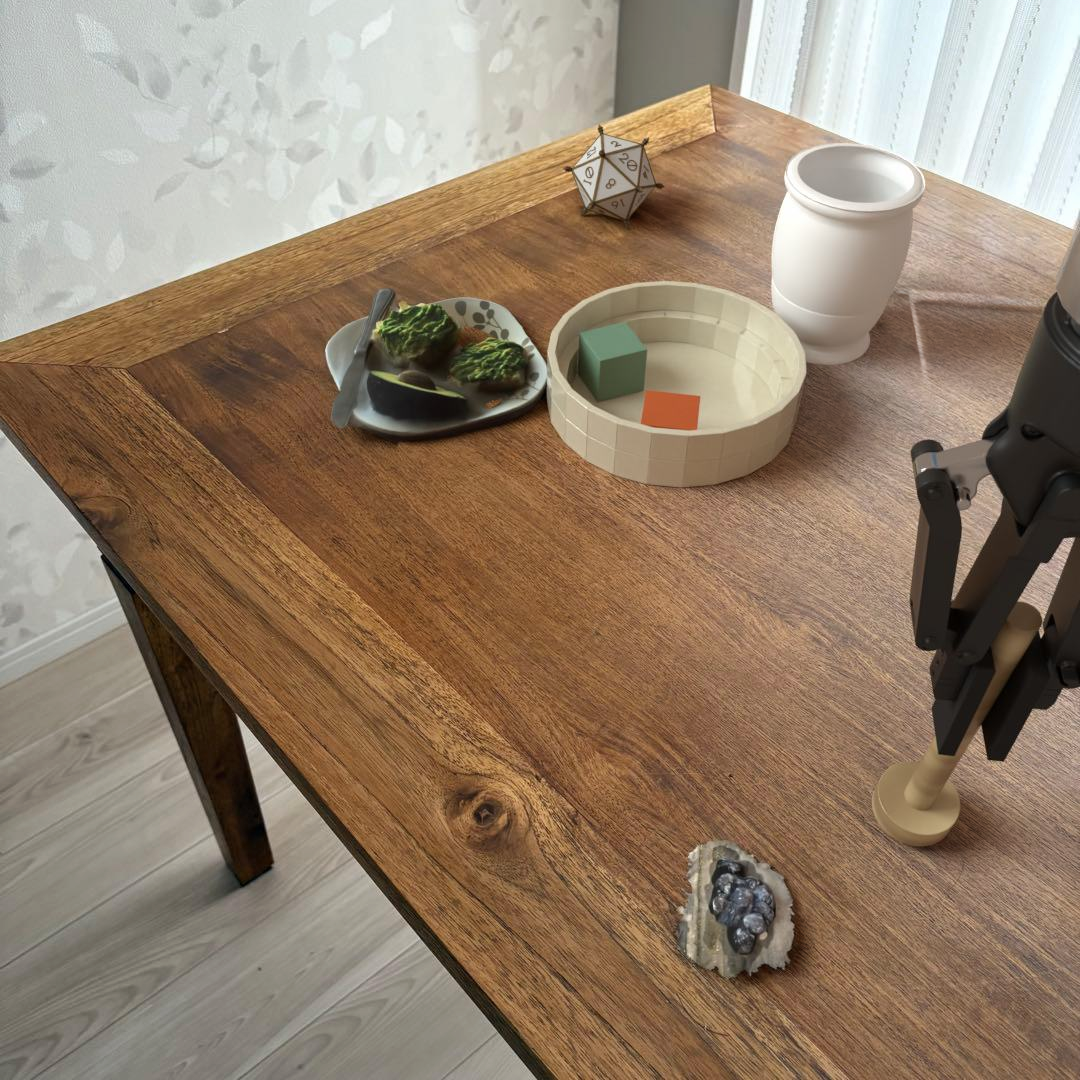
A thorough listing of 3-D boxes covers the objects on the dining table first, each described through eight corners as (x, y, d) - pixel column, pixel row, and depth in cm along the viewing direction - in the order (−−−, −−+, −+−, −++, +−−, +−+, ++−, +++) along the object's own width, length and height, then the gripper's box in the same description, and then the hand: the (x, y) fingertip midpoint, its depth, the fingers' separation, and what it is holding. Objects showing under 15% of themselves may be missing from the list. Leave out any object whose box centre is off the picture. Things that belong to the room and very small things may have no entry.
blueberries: (687, 994, 55) (691, 978, 54) (647, 849, 61) (649, 832, 59) (817, 970, 56) (824, 953, 55) (765, 829, 61) (770, 811, 60)
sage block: (644, 390, 88) (647, 349, 85) (597, 402, 87) (600, 360, 84) (622, 362, 90) (625, 321, 87) (577, 373, 89) (578, 332, 86)
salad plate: (292, 324, 95) (284, 278, 91) (491, 285, 99) (489, 239, 96) (344, 468, 82) (337, 419, 79) (569, 415, 86) (571, 367, 83)
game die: (628, 245, 111) (697, 171, 105) (590, 255, 104) (662, 176, 98) (570, 178, 112) (636, 101, 106) (530, 183, 105) (598, 101, 99)
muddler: (965, 800, 62) (1091, 605, 48) (933, 862, 60) (1056, 677, 45) (891, 759, 63) (992, 559, 49) (858, 818, 61) (954, 626, 47)
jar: (872, 388, 89) (919, 219, 78) (745, 363, 91) (773, 195, 81) (888, 316, 96) (932, 152, 85) (769, 294, 98) (798, 131, 88)
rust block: (694, 437, 84) (700, 395, 81) (691, 472, 81) (697, 430, 78) (642, 431, 84) (645, 389, 81) (636, 466, 81) (640, 424, 79)
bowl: (790, 347, 93) (801, 290, 89) (797, 504, 80) (811, 446, 76) (562, 328, 95) (563, 272, 91) (532, 480, 81) (532, 422, 77)
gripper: (956, 372, 34) (815, 784, 51) (1457, 413, 33) (1144, 821, 50) (928, 245, 40) (809, 657, 56) (1360, 276, 38) (1106, 688, 55)
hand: (967, 733), depth 53 cm, fingers closed on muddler, 2 cm apart
